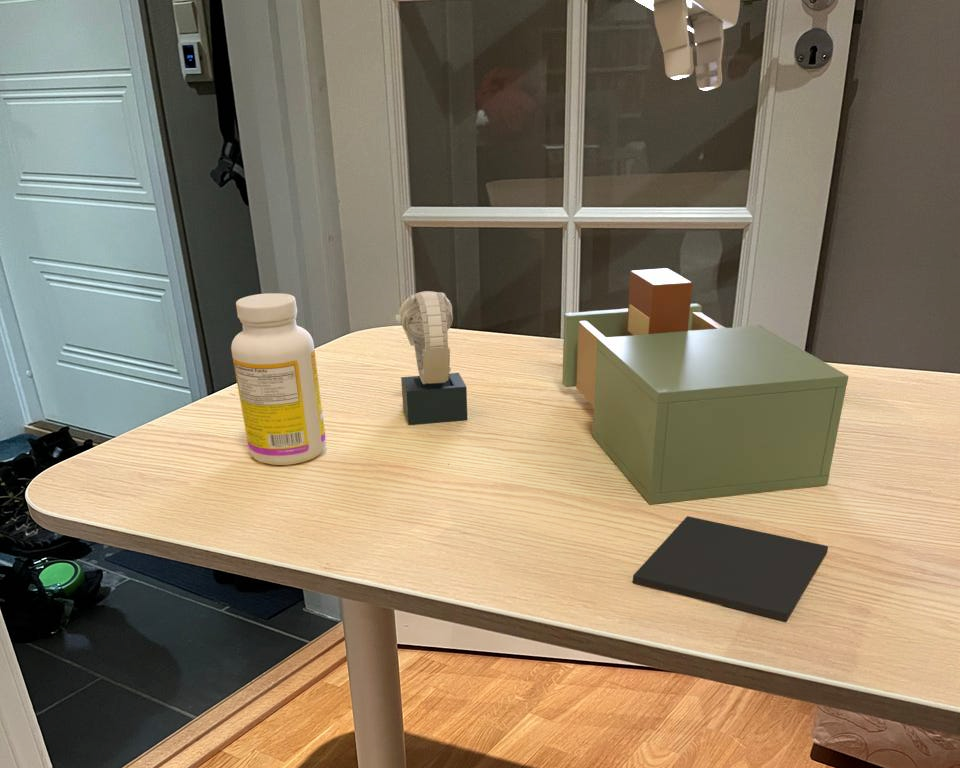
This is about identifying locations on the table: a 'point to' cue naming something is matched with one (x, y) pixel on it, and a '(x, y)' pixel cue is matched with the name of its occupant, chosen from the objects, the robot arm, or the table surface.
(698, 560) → the slate mat
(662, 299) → the brown rectangular block
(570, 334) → the drawer
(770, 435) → the cabinet
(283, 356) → the supplement bottle
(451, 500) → the table surface
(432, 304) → the watch
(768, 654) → the table surface
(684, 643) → the table surface
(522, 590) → the table surface
